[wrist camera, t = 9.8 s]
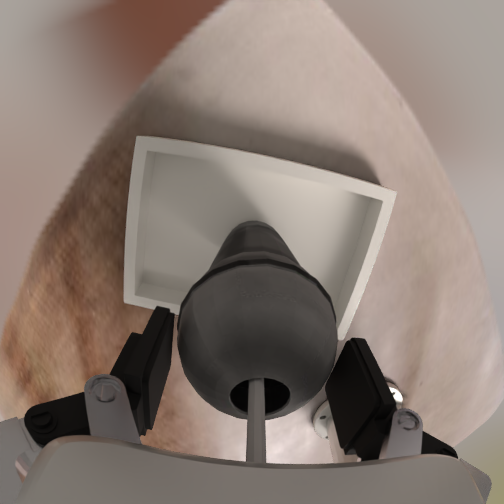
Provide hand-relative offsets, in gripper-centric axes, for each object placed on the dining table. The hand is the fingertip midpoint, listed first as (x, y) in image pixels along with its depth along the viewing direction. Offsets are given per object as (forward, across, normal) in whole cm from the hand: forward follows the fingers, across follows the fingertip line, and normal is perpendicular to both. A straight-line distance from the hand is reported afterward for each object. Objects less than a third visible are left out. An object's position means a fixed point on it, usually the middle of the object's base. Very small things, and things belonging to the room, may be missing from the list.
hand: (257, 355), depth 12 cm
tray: (+15, 0, 0) cm, 15 cm away
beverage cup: (+13, 0, 0) cm, 13 cm away
